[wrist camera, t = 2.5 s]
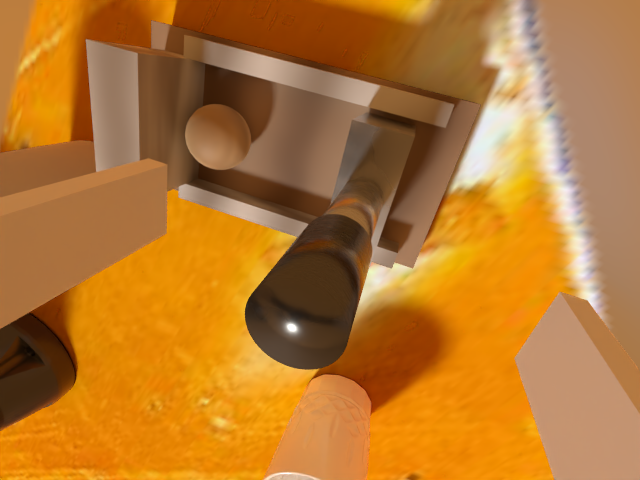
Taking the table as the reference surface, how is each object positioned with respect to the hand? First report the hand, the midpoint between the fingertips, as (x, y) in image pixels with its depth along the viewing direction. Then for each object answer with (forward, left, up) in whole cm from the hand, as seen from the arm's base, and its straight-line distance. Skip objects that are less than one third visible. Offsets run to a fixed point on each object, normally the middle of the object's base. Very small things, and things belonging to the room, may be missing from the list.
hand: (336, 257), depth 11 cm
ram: (0, 0, -12) cm, 12 cm away
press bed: (-6, 0, -14) cm, 15 cm away
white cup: (+3, -23, -14) cm, 27 cm away
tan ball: (-10, 0, -12) cm, 16 cm away
